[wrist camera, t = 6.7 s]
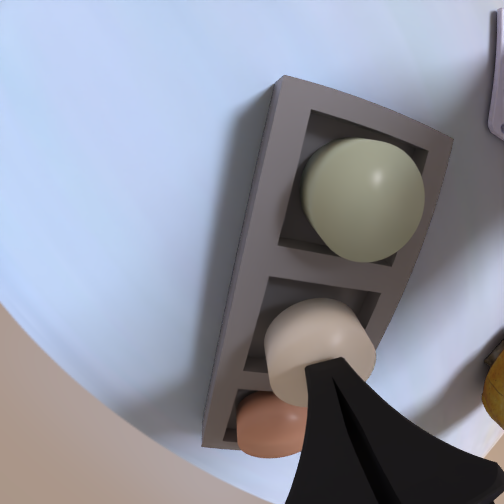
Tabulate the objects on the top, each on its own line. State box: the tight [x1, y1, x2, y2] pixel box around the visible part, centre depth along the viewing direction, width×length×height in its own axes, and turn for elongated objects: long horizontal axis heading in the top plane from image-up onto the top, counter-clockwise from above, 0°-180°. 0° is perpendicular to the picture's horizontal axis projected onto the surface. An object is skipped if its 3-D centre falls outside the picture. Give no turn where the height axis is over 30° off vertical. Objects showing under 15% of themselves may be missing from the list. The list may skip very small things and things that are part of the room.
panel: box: [201, 75, 454, 452], centre depth 14 cm, size 7×19×2 cm, turn 168°
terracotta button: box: [236, 391, 308, 458], centre depth 15 cm, size 4×4×2 cm
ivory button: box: [264, 298, 376, 407], centre depth 12 cm, size 4×4×2 cm
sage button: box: [299, 137, 425, 262], centre depth 10 cm, size 4×4×2 cm
